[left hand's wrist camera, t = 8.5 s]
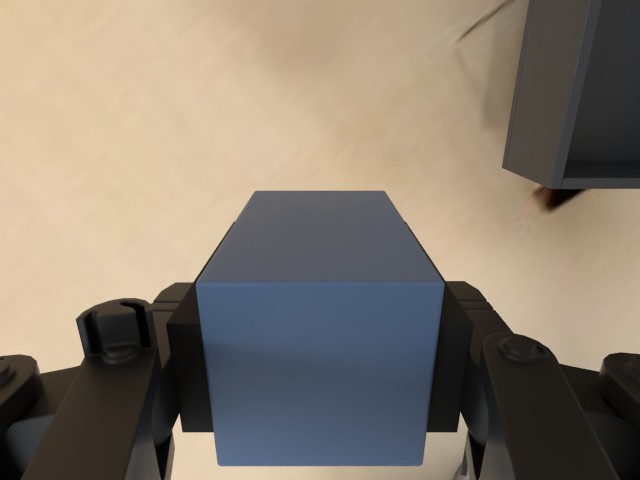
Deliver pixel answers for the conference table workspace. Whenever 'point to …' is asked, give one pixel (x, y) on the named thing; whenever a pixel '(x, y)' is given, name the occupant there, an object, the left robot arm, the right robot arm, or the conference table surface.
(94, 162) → the conference table surface
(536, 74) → the tray
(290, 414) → the block
